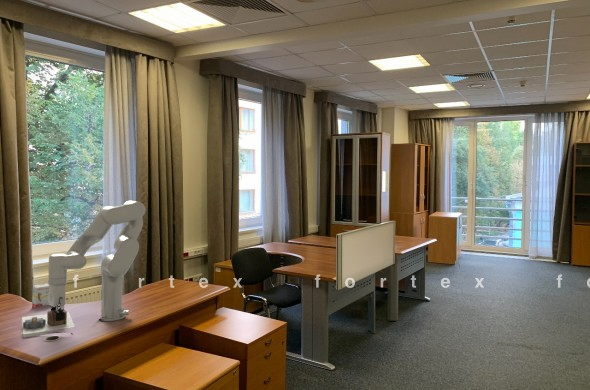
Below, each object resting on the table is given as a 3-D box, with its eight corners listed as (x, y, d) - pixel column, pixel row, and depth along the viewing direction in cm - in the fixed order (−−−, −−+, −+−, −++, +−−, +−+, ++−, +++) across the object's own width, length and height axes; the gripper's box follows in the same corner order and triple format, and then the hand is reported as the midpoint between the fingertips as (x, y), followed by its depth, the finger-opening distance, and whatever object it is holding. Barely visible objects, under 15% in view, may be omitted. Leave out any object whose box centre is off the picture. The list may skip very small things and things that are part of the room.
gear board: (21, 320, 208) (22, 307, 207) (68, 314, 219) (68, 302, 218) (23, 337, 186) (23, 323, 186) (74, 330, 197) (75, 317, 197)
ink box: (35, 310, 224) (35, 287, 223) (31, 308, 227) (32, 285, 226) (53, 306, 230) (53, 284, 230) (49, 304, 233) (49, 283, 233)
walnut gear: (70, 320, 205) (70, 309, 205) (60, 326, 197) (61, 314, 196) (53, 320, 205) (53, 308, 205) (42, 326, 197) (42, 314, 196)
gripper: (43, 278, 204) (42, 315, 204) (54, 285, 191) (53, 325, 192) (60, 276, 209) (60, 312, 210) (72, 283, 197) (71, 321, 197)
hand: (57, 318), depth 201 cm, fingers open, 7 cm apart
